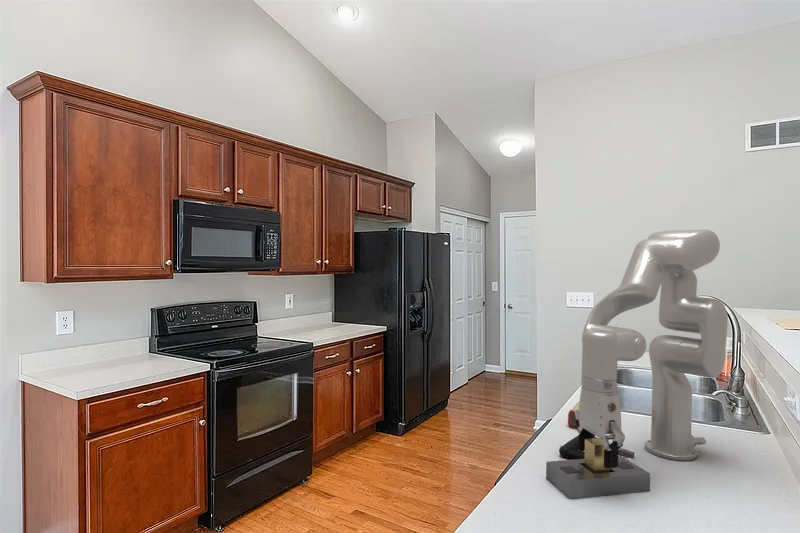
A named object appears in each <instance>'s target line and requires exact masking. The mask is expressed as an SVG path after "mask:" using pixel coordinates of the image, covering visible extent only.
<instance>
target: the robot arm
mask: <svg viewBox="0 0 800 533" xmlns="http://www.w3.org/2000/svg"><path fill="white" fill-rule="evenodd" d="M720 245H721V242H720V239H719V236H718V235H717V234H716V233H715V232H714V231H713V230H709V229H686V230H683V229H681V230H680V229H679V230H675V229H674V230H662V231H657V232H654V233H651V234H650V235H649V236H648V237H647V238H645V239H642V240H641V241H639V242H638V243H637V244H636V245H635V247H634V249H633V252H632V254H631V257H630V259H629V261H628V265H627V267H626V269H625V272H624V275H623V276H622V279H621V283H620V284H619V286H618V287H617V288H615V289H614V290H612V291H611V292H610V293H608V294H607V295H606V296H604V297H603V298H602V299H601V300H599V301H598V302H597V303H596V304H595V305H594V306H593V308H592V309H591V311H590V313H589V315H588V318H587V320H586V323H585V325H584V327H583V330H582V336H581V343H582V346H581V388H580V395H579V401H580V403H579V410H576V411H575V417H576V419H577V420H576V424H577V426H578V429H576V431H577V433H578V435H579V443H578V449H579V450H580V451H585V439H592V434H594V435H595V437H597V438H601V439H603V442H604V444H605V447H606V449H604V467H605V468H617V467H618V450H620V448H623V445H624V442H625V440H626V435H625V433H624V432H623V431H622V411H621V402H620V398H619V394H618V391H617V390H618V362H635V361H637V360H639V359H641V358H642V357H643V356H644V354H645V352H646V350H647V340H646V338H645V336H644V335H643V334H642V333H641V332H639V331H638V330H635V329H631V328H625V327H618V326H611V325H609V324H610V322H611V321H612V320H613V319H614V318H615V317H617V316H619V315H620V314H622V313H625V312H627V311H630V310H633V309H634V310H635V309H636V308H640V307H643V306H646V305H649V304H652V302H654V301H655V299H657V296H658V292H659V290H660V294H659V295H660V297H659V304H658V306H659V308H658V321H659V324H660V325H661V327H662V328H664V329H667V330H671V331H676V332H685V333H693V334H700V338H694V337H688V336H683V335H673V334H672V335H671V334H662V335H661V334H660V335H658V336H656V337H654V338H653V339H652V340H651V341H650V344H649V346H648V356H649V361H650V367H651V375H652V378H651V379H652V387H651V424H650V425H651V426H650V429H651V430H650V439H648V440H646V441H644V449H645V450H646V451H647V452H649V453H651V454H652V455H655V456H658V457H661V458H664V459H669V460H675V461H691V460H692V461H693V460H696V459H697V458H698V454H699V453H698V451H697V449H696V448H695V447H696V446H697V445H698V446H700V445H706V443H707V440H706V438H705V437H703V436H700V437H699V436H697V437H695V436H694V435H693V434H692V415H693V389H692V385H691V383H690V382H691V381H689V379H688V377H687V375H692V376H698V377H702V378H710V379H711V378H713V379H714V378H717V377H719V376H720V375H721V373H722V372H723V370H724V367H725V363H726V362H725V361H726V351H727V350H726V348H727V335H728V326H729V325H728V317H729V316H728V311H727V308H726V306H725V304H724V303H723V302H722V301H721V300H719V299H717V298H712V297H700V296H699V297H698V296H697V287H698V286H697V285H698V278H697V275H696V273H695V271H696V270H698V269H700V268H702V267H705V266H707V265H708V264H710V263H712V262H713V261H714V260H715V259H716V258H717V256H718V255H719V252H720V247H721V246H720ZM686 374H687V375H686ZM609 440H610V441H611V443H610V441H609Z"/></svg>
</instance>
